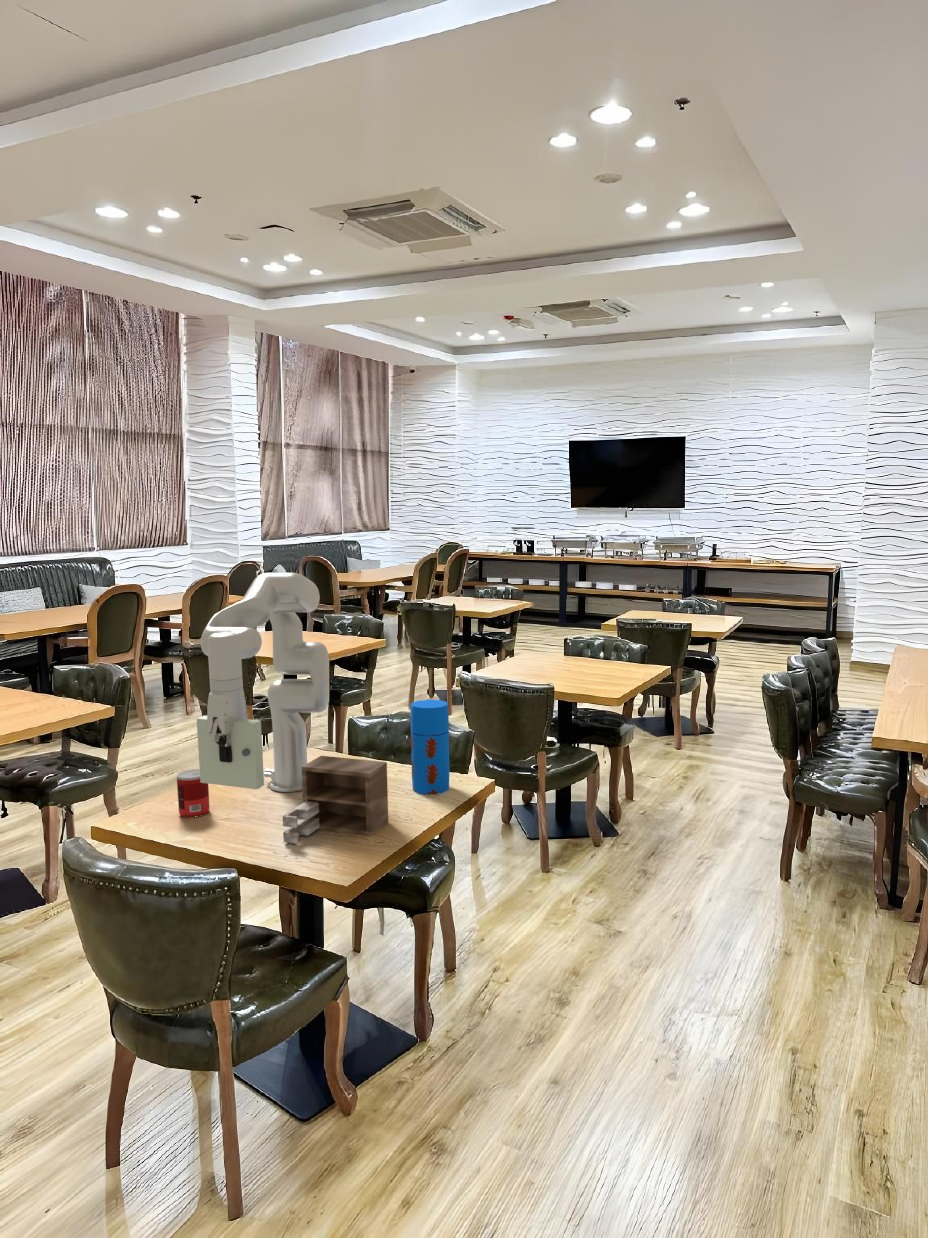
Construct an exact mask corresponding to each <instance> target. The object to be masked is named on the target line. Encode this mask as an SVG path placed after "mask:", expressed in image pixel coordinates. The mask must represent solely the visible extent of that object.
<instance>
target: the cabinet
mask: <svg viewBox="0 0 928 1238" xmlns="http://www.w3.org/2000/svg"><path fill="white" fill-rule="evenodd" d="M388 790H389V789H388V763H387V761H379V760H377V761H376V760H371V759H370V760H368V759H360V758H359V759H358V758H350V757H348V758H347V757H339V756H337V757H336V756H327V755H320V756H318V757H316V758H315V759H312V760H311V761H308V762H307V764H305V765H304V766H302V790H301V791H302V803H301V804H299V805H298V806H296V807H295V808H293V809H291V810H290V811H289V812H287V813H285V814H284V815H282V826H283V827H287V829H286V830H284V831H283V833H282V834H283V836H282V837H283V842H284V843H289V844H295V845H296V844H298V843H299V835H301V836H307V837H308V836H310V835H311V834H312V833H314V832H315V831H316V830H319V831H320V830H322V831H328V832H336V833H345V834H353V835H360V836H365V837H367V836H368V837H372V836H373V835H374V834H376V833H377V832H378V831H380V830H381V829H382V828H383V827H385V826H386V825H387V824H388V823H389V799H388V797H389V794H388ZM298 820H299V821H298ZM386 823H387V824H386ZM381 827H382V828H381ZM380 828H381V829H380Z"/></svg>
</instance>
